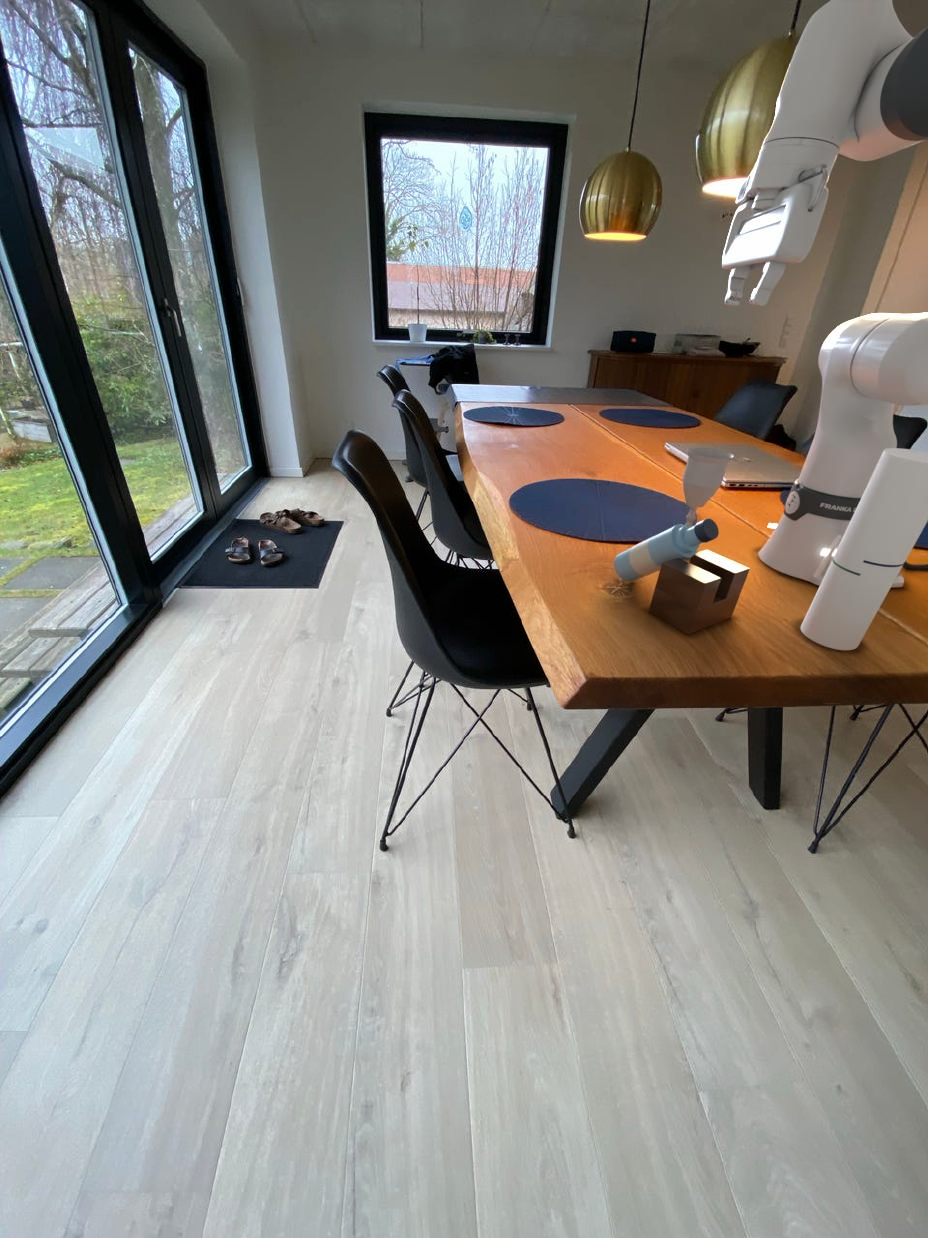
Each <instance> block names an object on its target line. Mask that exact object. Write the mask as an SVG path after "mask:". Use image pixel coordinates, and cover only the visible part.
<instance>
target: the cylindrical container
mask: <svg viewBox="0 0 928 1238" xmlns="http://www.w3.org/2000/svg"><path fill="white" fill-rule="evenodd" d="M927 523H928V451H923V450H917V449H910V448H901V447H900V448H898V447H896V448H888V449H885V450H884V451H883V453H882V455H881V458H880V460H879V462H878V464H877V466H876V468H875V470H874V472H873V474H872V477H871V479H870V481H869V483H868V485H867V487H866V489H865V491H864V493H863V496H862V498H861V500H860V502H859V504H858V506H857V508H856V510H855V513H854V515H853V517H852V519H851V521H850V523H849V525H848V527H847V529H846V532H845V534H844V536H843V538H842V540H841V542H840V544H839V546H838V549H837V551H836V553H835V555H834V557H833V559H832V561H831V563H830V565H829V568H828V570H827V572H826V574H825V576H824V578H823V580H822V582H821V585H820V586H819V587H818V589H817V591H816V593H815V594H814V598H813V599H812V602H811V604H810V606H809V608H808V609H807V612H806V615H805V616H804V619H803V620H802V623H801V624H800V631H801V633H802V634H803V635H804V636H805V637H806V638H808V639H809V640H811V641H813V642H814V643H816V644H818V645H820V646H824V647H826V648H829V649H833V650H839V651H852V650H855V649H857V648H858V647H859V645H860V644H861V642H862V640H863V638H864V637H865V635H866V633H867V631H868V630H869V627H870V626H871V624H872V622H873V620H874V618H875V617H876V615H877V614H878V612H879V609H880V608H881V606H882V605H883V602H884V600H885V599H886V597H887V595H888V593H889V591H890V590H891V588H892V587H891V586H892V584H893V582H894V581H895V579H896V577H897V575H898V573H900V571H901V569H902V568H903V567H902V566H903V564H904V562H905V561H906V562H907V559H908V558H909V555H910V553H911V552H912V550H913V549H914V547H915V545H916V543H917V541H918V540H919V538H920V535H921V534H922V532H923V531H924V529H925V527H926V525H927Z"/></svg>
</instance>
